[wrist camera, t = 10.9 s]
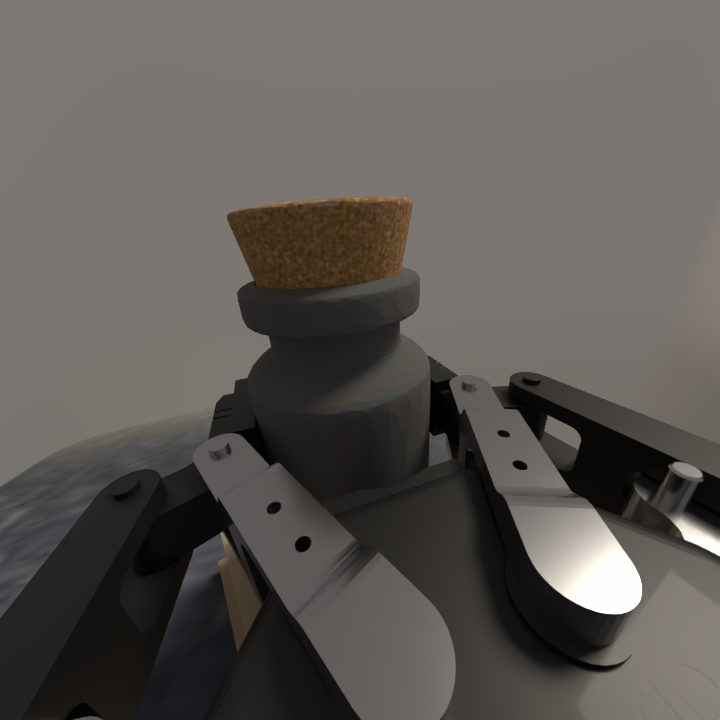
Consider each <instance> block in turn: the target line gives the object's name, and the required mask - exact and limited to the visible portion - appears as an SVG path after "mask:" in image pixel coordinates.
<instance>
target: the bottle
mask: <svg viewBox="0 0 720 720" xmlns="http://www.w3.org/2000/svg"><path fill="white" fill-rule="evenodd" d="M412 206H413V203H412V201H411V199H409V198H403V197H377V196H376V197H375V196H374V197H353V198H334V199H333V198H332V199H317V200H307V201H296V202H286V203H277V204H269V205H262V206H256V207H249V208H243V209H239V210H236V211H233V212H230V213H229V214H228V215H227V220H228V222H229V224H230V227H231V229H232V231H233V233H234V236H235V238H236V240H237V242H238V245H239V247H240V249H241V252H242V253H243V256H244V258H245V261H246V263H247V265H248V267H249V270H250V272H251V274H252V277H253V279H254V281H252V282H250V283H248V284H246V285H244V286H243V287H241V288H240V289H239V291H238V292H237V295H238V302H239V306H240V310H241V314H242V318H243V320H244V322H245V324H246V326H247V327H248V328H249V329H251V330H253V331H255V332H257V333H260V334H263V335H268V336H269V339H270V343H271V348H270V349H268V350H267V351H266V352H265V353H264V354H263V355H262V356H261V357H260V358H259V359H258V360H257V362H256V363H255V364H254V365H253V367H252V369H251V371H250V373H249V376H248V379H247V386H248V393H249V398H250V402H251V405H252V409H253V413H254V415H255V418H256V422H257V426H258V430H259V434H260V438H261V441H262V445H263V449H264V453H265V456H266V460H267V463H268V464H269V465H270V466H271V465H272V464H274V463H276V462H278V463H280V464H281V465H282V466H283V467H284V468H285V469H286V470H287V471H288V472H289V473H290V474H291V475H292V476H293V477H294V478H295V479H296V480H297V481H298V482H299V483H300V484H301V485H302V486H303V487H304V488H305V489H306V490H307V491H308V492H309V493H310V494H311V495H312V496H313V497H314V498H315V499H316V500H317V501H318V502H319V503H320V504H321V505H322V506H323V507H324V503H323V502H325V501H328V500H331V499H334V498H337V497H340V496H343V495H346V494H349V493H352V492H355V491H358V490H365V489H374V488H384V487H393V486H398V485H400V484H402V483H404V482H405V481H407V480H408V479H410V478H411V477H413V476H415V475H416V474H418V473H419V472H421V471H422V470H424V469H425V468H427V467H428V465H429V425H430V383H431V381H430V363H429V359H428V357H427V355H426V353H425V352H424V351H423V349H422V348H421V347H420V346H419V345H418V344H417V343H415V342H414V341H413V340H411V339H410V338H408V337H406V336H404V335H403V334H401V333H400V321H402V320H404V319H406V318H407V317H409V316H410V315H412V314H413V313H414V312H415V311H416V310H417V308H418V306H419V296H420V285H419V284H420V283H419V276H418V274H417V273H416V272H415V271H413V270H410V269H407V268H403V267H402V262H403V256H404V251H405V245H406V240H407V235H408V229H409V223H410V218H411V212H412Z"/></svg>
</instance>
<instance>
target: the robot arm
mask: <svg viewBox="0 0 720 720" xmlns="http://www.w3.org/2000/svg"><path fill="white" fill-rule="evenodd" d="M427 357H428V359H429V363H430V381H431V383H430V425H429V432H430V433H431V434H432V435H433V436H435V435H438V434H442V433H446V446H447V450H448V455H449V459H450V460H449V461H446V462H443V463H439V464H436V465H433V466H430V467H427V468H425V469H424V470H422V471H421V472H419V473H418V474H416V475H415V476H413V477H411V478H410V479H408V480H407V481H405V482H404V483H402V484H400V485H398V486H393V487H384V488H374V489H365V490H358V491H355V492H352V493H349V494H346V495H343V496H340V497H337V498H334V499H331V500H328V501H325V502H323V503H324V507H323V506H322V505H321V504H320V503H319V502H318V501H317V500H316V499H315V498H314V497H313V496H312V495H311V494H310V493H309V492H308V491H307V490H306V489H305V488H304V487H303V486H302V485H301V484H300V483H299V482H298V481H297V480H296V479H295V478H294V477H293V476H292V475H291V474H290V473H289V472H288V471H287V470H286V469H285V468H284V467H283V466H282V465H281V464H280V463H278V462H276V463H274V464H272V465H271V466H270V465H269V464H268V463H267V460H266V456H265V453H264V449H263V445H262V441H261V438H260V434H259V430H258V426H257V422H256V418H255V415H254V413H253V409H252V405H251V402H250V398H249V393H248V386H247V379H248V378H245V379H240V380H236V381H235V390H234V393H233V394H228V395H224V396H223V397H222V398H221V399H220V400H219V401H218V402H217V403H216V407H215V411H214V412H215V413H214V416H213V420H212V425H211V430H210V434H209V439H208V440H207V441H206V442H204V443H203V444H202V445H200V446H199V447H198V448H197V450H196V451H195V453H194V454H193V463H192V464H190V465H188V466H187V467H185V468H183V469H181V470H179V471H177V472H175V473H173V474H170V475H168V476H166V477H164V478H162V479H161V477H160V475H159V473H158V472H157V471H155V470H151V469H144V470H139V471H135V472H132V473H129V474H127V475H124V476H122V477H120V478H118V479H117V480H115V481H113V482H112V483H110V484H109V485H108V486H107V487H105V488H104V489H103V490H102V491H101V492H100V493H99V494H98V495H97V496H96V498H95V499H94V500H93V501H92V503H91V504H90V505H89V507H88V508H87V509H86V510H85V512H84V513H83V514H82V515H81V517H80V518H79V519H78V521H77V522H76V523H75V524H74V526H73V527H72V528H71V529H70V531H69V532H68V533H67V535H66V536H65V537H64V538H63V540H62V541H61V542H60V543H59V545H58V546H57V547H56V549H55V550H54V551H53V552H52V554H51V555H50V556H49V557H48V559H47V560H46V561H45V563H44V564H43V565H42V566H41V568H40V569H39V570H38V571H37V573H36V574H35V575H34V577H33V578H32V579H31V580H30V582H29V583H28V584H27V585H26V587H25V588H24V589H23V591H22V592H21V593H20V594H19V596H18V597H17V598H16V599H15V601H14V602H13V603H12V605H11V606H10V607H9V608H8V610H7V611H6V612H5V613H4V615H3V616H2V617H1V618H0V720H134V719H135V717H136V714H137V711H138V708H139V705H140V702H141V699H142V697H143V694H144V691H145V688H146V685H147V682H148V679H149V677H150V674H151V671H152V668H153V665H154V662H155V660H156V657H157V654H158V651H159V648H160V645H161V642H162V640H163V637H164V634H165V631H166V628H167V625H168V622H169V620H170V617H171V614H172V611H173V608H174V605H175V602H176V600H177V597H178V594H179V591H180V588H181V585H182V582H183V580H184V577H185V574H186V571H187V568H188V565H189V562H190V560H191V557H192V554H193V549H195V548H197V547H198V546H200V545H201V544H203V543H205V542H206V541H208V540H210V539H211V538H213V537H214V536H216V535H218V534H219V533H221V532H223V534H224V535H225V537H226V539H227V541H228V543H229V544H230V546H231V548H232V550H233V552H234V553H235V555H236V557H237V559H238V561H239V562H240V564H241V566H242V568H243V570H244V572H245V573H246V575H247V577H248V579H249V581H250V583H251V586H252V588H253V590H254V592H255V594H256V596H257V598H258V600H259V602H260V604H261V608H260V609H259V611H258V613H257V615H256V617H255V619H254V621H253V623H252V625H251V627H250V629H249V631H248V633H247V635H246V637H245V639H244V641H243V643H242V645H241V647H240V649H239V650H238V652H237V654H236V656H235V658H234V660H233V662H232V664H231V666H230V668H229V670H228V672H227V674H226V676H225V678H224V680H223V682H222V684H221V686H220V688H219V690H218V691H217V693H216V695H215V697H214V699H213V701H212V703H211V705H210V707H209V709H208V711H207V713H206V715H205V717H204V719H203V720H720V444H717V443H714V442H712V441H709V440H707V439H704V438H702V437H699V436H697V435H694V434H691V433H689V432H686V431H683V430H681V429H679V428H676V427H674V426H671V425H669V424H666V423H663V422H661V421H658V420H656V419H653V418H650V417H648V416H646V415H643V414H640V413H638V412H635V411H633V410H630V409H628V408H625V407H622V406H620V405H617V404H615V403H612V402H610V401H607V400H605V399H602V398H599V397H597V396H594V395H592V394H589V393H587V392H584V391H582V390H579V389H577V388H574V387H571V386H569V385H566V384H564V383H561V382H559V381H556V380H554V379H551V378H548V377H546V376H543V375H540V374H537V373H530V372H520V373H515V374H513V375H512V376H511V377H510V383H509V386H500V387H491V386H490V384H489V383H488V382H487V381H486V380H484V379H482V378H479V377H476V376H469V375H463V376H458V375H456V374H455V373H453V372H452V371H450V370H449V369H447V368H446V367H445V366H444V367H443V365H442V364H440V363H439V362H437V361H436V360H434V359H433V358H431V357H430V356H427ZM548 415H549V416H551V417H553V418H555V419H557V420H559V421H561V422H563V423H565V424H567V425H569V426H571V427H573V428H574V429H575V430H577V432H578V433H579V434H580V437H581V443H580V447H579V450H577V449H575V448H573V447H572V446H570V445H568V444H566V443H564V442H562V441H561V440H559V439H557V438H555V437H553V436H552V435H550V434H548V433H546V432H544V429H545V425H546V420H547V416H548ZM573 492H574V493H575V494H577V495H575V494H574V493H573ZM591 504H592V505H593V506H592V505H591Z"/></svg>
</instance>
